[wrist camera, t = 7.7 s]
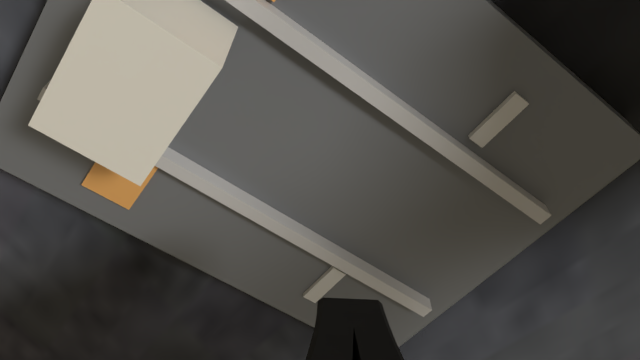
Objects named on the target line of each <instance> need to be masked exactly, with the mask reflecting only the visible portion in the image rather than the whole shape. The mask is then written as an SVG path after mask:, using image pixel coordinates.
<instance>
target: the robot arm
mask: <svg viewBox="0 0 640 360" xmlns="http://www.w3.org/2000/svg"><path fill="white" fill-rule="evenodd" d="M306 360H404V359H403V357H402V354H401V352H400V350H399V348H398V345H397V343H396V341H395V338H394V336H393V333H392V331H391V328H390V326H389V323H388V320H387V317H386V315H385V312H384V308H383V305H382V303H381V302H380V301H379V300H370V299H347V298H324V297H323V298H321V299H320V300H318V303H317V316H316V322H315V327H314V332H313V336H312V340H311V344H310V347H309V351H308V354H307V357H306Z"/></svg>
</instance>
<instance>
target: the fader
mask: <svg viewBox="0 0 640 360" xmlns="http://www.w3.org/2000/svg"><path fill="white" fill-rule="evenodd" d="M237 29H238V26H236V25H235V24H234V23H232V22H231V21H229V20H228V19H226V18H225V17H223V16H222V15H221V14H219V13H218V12H216V11H215V10H213V9H212V8H211V7H209V6H208V5H206V4H205V3H203V2H202V1H201V0H92V1H91V3H90V5H89V7H88V9H87V11H86V13H85V14H84V16H83V18H82V20H81V22H80V24H79V26H78V28H77V30H76V32H75V34H74V36H73V38H72V40H71V42H70V44H69V46H68V48H67V50H66V52H65V54H64V56H63V58H62V60H61V62H60V64H59V65H58V67H57V69H56V71H55V73H54V75H53V77H52V79H51V81H50V83H49V85H48V87H47V89H46V91H45V93H44V95H43V97H42V99H41V101H40V103H39V105H38V107H37V109H36V111H35V113H34V115H33V116H32V118H31V120H30V122H29V124H28V126H30V127H32V128H34V129H36V130H37V131H39V132H41V133H43V134H45V135H47V136H48V137H50V138H52V139H54V140H56V141H58V142H60V143H61V144H63V145H65V146H67V147H69V148H71V149H72V150H74V151H76V152H78V153H80V154H82V155H83V156H85V157H87V158H89V159H91V160H93V161H95V162H96V163H98V164H100V165H102V166H104V167H106V168H107V169H109V170H111V171H113V172H115V173H117V174H118V175H120V176H122V177H124V178H126V179H128V180H129V181H131V182H133V183H135V184H137V185H139V186H141V185H142V183H143V182H144V180H145V179H146V178H147V176H148V175H149V173H150V172H151V170H152V169H153V167H154V166H155V165H156V163H157V162H158V160H159V159H160V157H161V156H162V154H163V153H164V152H165V150H166V149H167V147H168V146H169V144H170V143H171V141H172V140H173V139H174V137H175V136H176V134H177V133H178V131H179V130H180V128H181V127H182V126H183V124H184V123H185V121H186V120H187V118H188V117H189V115H190V114H191V113H192V111H193V110H194V108H195V107H196V105H197V104H198V102H199V101H200V100H201V98H202V97H203V95H204V94H205V92H206V91H207V89H208V88H209V87H210V85H211V84H212V82H213V81H214V79H215V78H216V76H217V75H218V74H219V72H220V71H221V69H222V68H223V65H224V63H225V60H226V57H227V55H228V52H229V50H230V47H231V44H232V42H233V39H234V37H235V34H236V31H237Z"/></svg>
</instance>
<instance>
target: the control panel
mask: <svg viewBox="0 0 640 360" xmlns="http://www.w3.org/2000/svg"><path fill="white" fill-rule="evenodd" d="M91 1H92V0H47V2H46V5H45V7H44V9H43V11H42V13H41V15H40V17H39V20H38V22H37V24H36V26H35V28H34V30H33V33H32V35H31V37H30V39H29V41H28V43H27V45H26V48H25V50H24V52H23V54H22V56H21V58H20V61H19V63H18V65H17V67H16V69H15V71H14V73H13V76H12V78H11V80H10V82H9V84H8V86H7V89H6V91H5V93H4V95H3V97H2V99H1V101H0V169H2V170H4V171H6V172H8V173H10V174H12V175H14V176H16V177H18V178H20V179H22V180H24V181H26V182H28V183H30V184H32V185H34V186H36V187H38V188H40V189H42V190H44V191H46V192H48V193H50V194H52V195H54V196H56V197H58V198H60V199H62V200H63V201H65V202H67V203H69V204H71V205H73V206H75V207H77V208H79V209H81V210H83V211H85V212H87V213H89V214H91V215H93V216H95V217H97V218H99V219H101V220H103V221H105V222H107V223H109V224H111V225H113V226H115V227H117V228H119V229H121V230H123V231H125V232H127V233H129V234H131V235H132V236H134V237H136V238H138V239H140V240H142V241H144V242H146V243H148V244H150V245H152V246H154V247H156V248H158V249H160V250H162V251H164V252H166V253H168V254H170V255H172V256H174V257H176V258H178V259H180V260H182V261H184V262H186V263H188V264H190V265H192V266H194V267H196V268H198V269H200V270H201V271H203V272H205V273H207V274H209V275H211V276H213V277H215V278H217V279H219V280H221V281H223V282H225V283H227V284H229V285H231V286H233V287H235V288H237V289H239V290H241V291H243V292H245V293H247V294H249V295H251V296H253V297H255V298H257V299H259V300H261V301H263V302H265V303H267V304H269V305H271V306H272V307H274V308H276V309H278V310H280V311H282V312H284V313H286V314H288V315H290V316H292V317H294V318H296V319H298V320H300V321H302V322H304V323H306V324H308V325H310V326H312V327H315V322H316V316H317V303H318V300H320V299H321V298H323V297H324V298H347V299H370V300H379V301H380V302H381V303H382V305H383V308H384V312H385V315H386V317H387V320H388V323H389V326H390V328H391V331H392V333H393V336H394V338H395V341H396V343H397V345H398V347H399V346H401V345H402V344H403V343H405V342H406V341H407V340H408V339H410V338H411V337H412V336H414V335H415V334H416V333H417V332H419V331H420V330H421V329H423V328H424V327H425V326H426V325H428V324H429V323H430V322H432V321H433V320H434V319H435V318H437V317H438V316H439V315H441V314H442V313H443V312H444V311H446V310H447V309H448V308H450V307H451V306H452V305H453V304H455V303H456V302H457V301H459V300H460V299H461V298H462V297H464V296H465V295H466V294H467V293H469V292H470V291H471V290H473V289H474V288H475V287H476V286H478V285H479V284H480V283H482V282H483V281H484V280H485V279H487V278H488V277H489V276H491V275H492V274H493V273H494V272H496V271H497V270H498V269H500V268H501V267H502V266H503V265H505V264H506V263H507V262H509V261H510V260H511V259H512V258H514V257H515V256H516V255H518V254H519V253H520V252H521V251H523V250H524V249H525V248H527V247H528V246H529V245H530V244H532V243H533V242H534V241H536V240H537V239H538V238H539V237H541V236H542V235H543V234H545V233H546V232H547V231H548V230H550V229H551V228H552V227H554V226H555V225H556V224H557V223H559V222H560V221H561V220H563V219H564V218H565V217H566V216H568V215H569V214H570V213H572V212H573V211H574V210H575V209H577V208H578V207H579V206H581V205H582V204H583V203H584V202H586V201H587V200H588V199H590V198H591V197H592V196H593V195H595V194H596V193H597V192H599V191H600V190H601V189H602V188H604V187H605V186H606V185H608V184H609V183H610V182H611V181H613V180H614V179H615V178H617V177H618V176H619V175H620V174H622V173H623V172H624V171H626V170H627V169H628V168H629V167H631V166H632V165H633V164H634V163H636V162H637V161H638V160H640V133H639V132H638V131H637V130H636V129H635V128H634V127H633V126H632V125H631V124H630V123H629V122H628V121H627V120H626V119H625V118H624V117H623V116H622V115H621V114H619V113H618V112H617V111H616V110H615V109H614V108H613V107H612V106H610V105H609V104H608V103H607V102H606V101H605V100H604V99H602V98H601V97H600V96H599V95H598V94H597V93H596V92H594V91H593V90H592V89H591V88H590V87H589V86H588V85H587V84H585V83H584V82H583V81H582V80H581V79H580V78H579V77H577V76H576V75H575V74H574V73H573V72H572V71H571V70H570V69H568V68H567V67H566V66H565V65H564V64H563V63H562V62H560V61H559V60H558V59H557V58H556V57H555V56H554V55H552V54H551V53H550V52H549V51H548V50H547V49H546V48H545V47H543V46H542V45H541V44H540V43H539V42H538V41H537V40H535V39H534V38H533V37H532V36H531V35H530V34H529V33H527V32H526V31H525V30H524V29H523V28H522V27H521V26H520V25H518V24H517V23H516V22H515V21H514V20H513V19H512V18H510V17H509V16H508V15H507V14H506V13H505V12H504V11H502V10H501V9H500V8H499V7H498V6H497V5H496V4H495V3H493V2H492V1H491V0H201V1H202V2H203V3H205V4H206V5H208V6H209V7H211V8H212V9H213V10H215V11H216V12H218V13H219V14H221V15H222V16H223V17H225V18H226V19H228V20H229V21H231V22H232V23H234V24H235V25H236V26H238V29H237V31H236V34H235V37H234V39H233V42H232V44H231V47H230V50H229V52H228V55H227V57H226V60H225V63H224V65H223V68H222V69H221V71H220V72H219V74H218V75H217V76H216V78H215V79H214V81H213V82H212V84H211V85H210V87H209V88H208V89H207V91H206V92H205V94H204V95H203V97H202V98H201V100H200V101H199V102H198V104H197V105H196V107H195V108H194V110H193V111H192V113H191V114H190V115H189V117H188V118H187V120H186V121H185V123H184V124H183V126H182V127H181V128H180V130H179V131H178V133H177V134H176V136H175V137H174V139H173V140H172V141H171V143H170V144H169V146H168V147H167V149H166V150H165V152H164V153H163V154H162V156H161V157H160V159H159V160H158V162H157V163H156V165H155V166H154V167H153V169H152V170H151V172H150V173H149V175H148V176H147V178H146V179H145V180H144V182H143V183H142V185H141V186H139V185H137V184H135V183H133V182H131V181H129V180H128V179H126V178H124V177H122V176H120V175H118V174H117V173H115V172H113V171H111V170H109V169H107V168H106V167H104V166H102V165H100V164H98V163H96V162H95V161H93V160H91V159H89V158H87V157H85V156H83V155H82V154H80V153H78V152H76V151H74V150H72V149H71V148H69V147H67V146H65V145H63V144H61V143H60V142H58V141H56V140H54V139H52V138H50V137H48V136H47V135H45V134H43V133H41V132H39V131H37V130H36V129H34V128H32V127H30V126H28V124H29V122H30V120H31V118H32V116H33V115H34V113H35V111H36V109H37V107H38V105H39V103H40V101H41V99H42V97H43V95H44V93H45V91H46V89H47V87H48V85H49V83H50V81H51V79H52V77H53V75H54V73H55V71H56V69H57V67H58V65H59V64H60V62H61V60H62V58H63V56H64V54H65V52H66V50H67V48H68V46H69V44H70V42H71V40H72V38H73V36H74V34H75V32H76V30H77V28H78V26H79V24H80V22H81V20H82V18H83V16H84V14H85V13H86V11H87V9H88V7H89V5H90V3H91Z"/></svg>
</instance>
